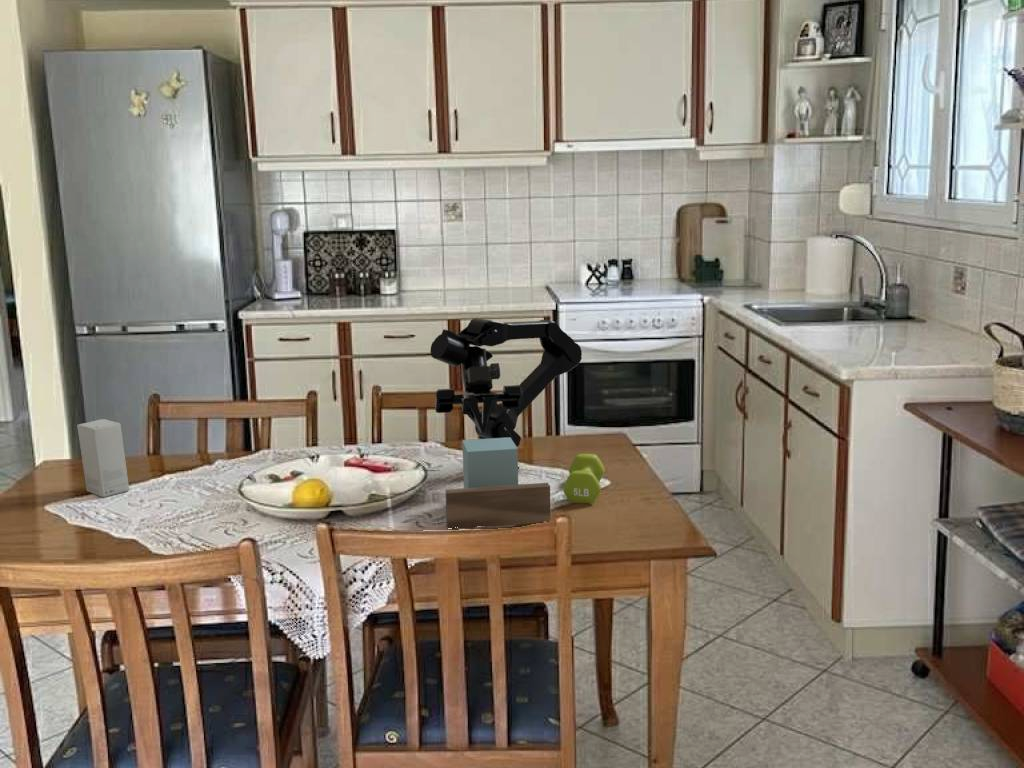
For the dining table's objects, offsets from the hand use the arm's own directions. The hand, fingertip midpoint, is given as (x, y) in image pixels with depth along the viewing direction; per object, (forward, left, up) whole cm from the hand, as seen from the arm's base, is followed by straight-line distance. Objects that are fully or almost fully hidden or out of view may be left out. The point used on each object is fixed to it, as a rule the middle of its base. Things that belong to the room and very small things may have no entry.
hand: (483, 432), depth 210 cm
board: (+17, -12, -14) cm, 25 cm away
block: (+9, -6, -13) cm, 17 cm away
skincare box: (-63, -56, -14) cm, 85 cm away
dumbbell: (+16, +14, -14) cm, 26 cm away
